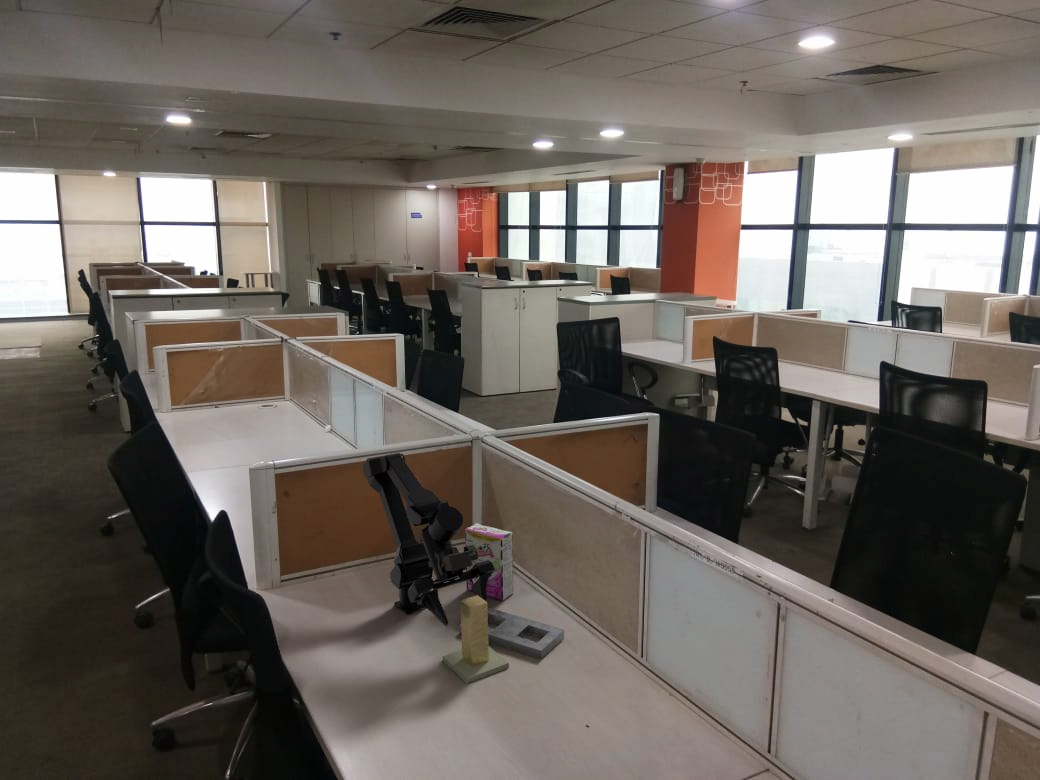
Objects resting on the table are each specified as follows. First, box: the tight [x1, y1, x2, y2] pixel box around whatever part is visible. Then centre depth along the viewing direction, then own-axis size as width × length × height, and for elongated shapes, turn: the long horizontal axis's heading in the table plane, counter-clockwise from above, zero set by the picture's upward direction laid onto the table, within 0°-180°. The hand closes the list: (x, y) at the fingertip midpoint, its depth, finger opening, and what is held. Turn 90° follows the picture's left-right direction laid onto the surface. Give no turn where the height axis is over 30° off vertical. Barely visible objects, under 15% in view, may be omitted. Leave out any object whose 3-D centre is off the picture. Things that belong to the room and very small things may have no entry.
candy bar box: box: [464, 523, 514, 602], centre depth 189 cm, size 11×5×16 cm, turn 58°
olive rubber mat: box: [442, 645, 510, 684], centre depth 159 cm, size 10×10×1 cm
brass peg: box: [459, 595, 489, 667], centre depth 158 cm, size 4×4×13 cm
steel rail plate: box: [458, 607, 565, 660], centre depth 170 cm, size 21×10×2 cm, turn 59°
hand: (466, 618), depth 160 cm, fingers open, 9 cm apart
